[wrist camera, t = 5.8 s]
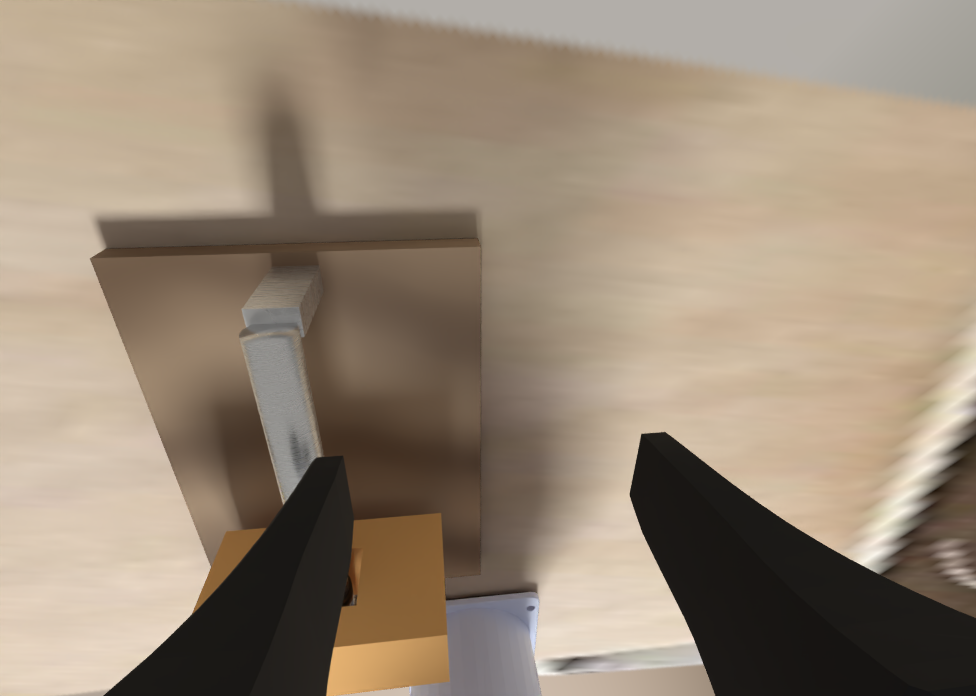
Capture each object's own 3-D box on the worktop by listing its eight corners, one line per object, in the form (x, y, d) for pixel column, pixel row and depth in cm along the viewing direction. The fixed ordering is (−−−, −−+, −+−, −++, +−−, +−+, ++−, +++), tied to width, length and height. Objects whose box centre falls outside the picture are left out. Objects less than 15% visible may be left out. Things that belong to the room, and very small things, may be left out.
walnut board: (478, 558, 28) (480, 574, 27) (230, 582, 26) (224, 600, 26) (477, 238, 19) (480, 246, 18) (106, 248, 18) (90, 258, 17)
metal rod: (372, 579, 26) (363, 678, 22) (336, 582, 26) (320, 684, 22) (322, 265, 18) (291, 328, 14) (269, 267, 18) (221, 331, 13)
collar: (443, 557, 24) (449, 681, 19) (242, 576, 23) (195, 712, 18) (441, 512, 23) (447, 635, 18) (225, 531, 22) (170, 665, 17)
